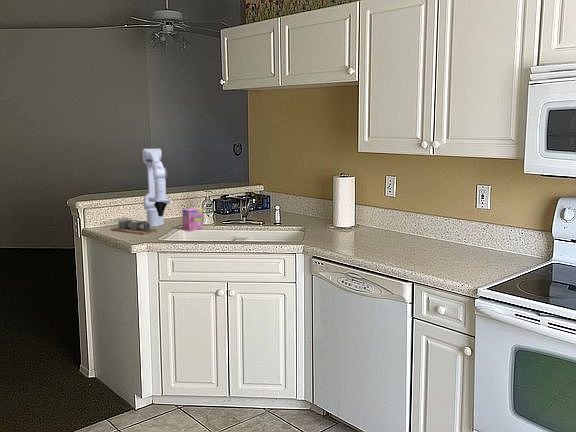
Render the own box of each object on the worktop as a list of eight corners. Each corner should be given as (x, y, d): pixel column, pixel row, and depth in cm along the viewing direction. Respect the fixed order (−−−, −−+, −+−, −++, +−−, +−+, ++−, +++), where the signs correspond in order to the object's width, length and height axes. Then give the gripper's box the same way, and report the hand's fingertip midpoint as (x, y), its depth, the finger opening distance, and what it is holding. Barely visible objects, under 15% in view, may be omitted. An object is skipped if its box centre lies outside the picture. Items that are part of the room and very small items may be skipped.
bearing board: (125, 226, 330) (125, 218, 329) (156, 230, 321) (156, 222, 320) (110, 230, 320) (110, 221, 319) (142, 234, 310) (142, 225, 309)
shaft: (121, 226, 326) (121, 219, 325) (149, 229, 317) (149, 223, 317) (117, 227, 323) (117, 220, 322) (145, 230, 314) (145, 224, 314)
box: (189, 231, 321) (189, 210, 319) (182, 230, 325) (182, 209, 323) (203, 228, 330) (203, 208, 328) (196, 227, 333) (195, 207, 331)
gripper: (144, 190, 310) (145, 215, 313) (166, 192, 304) (167, 218, 306) (153, 189, 317) (153, 214, 319) (174, 191, 310) (175, 216, 313)
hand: (160, 216), depth 313 cm, fingers closed
